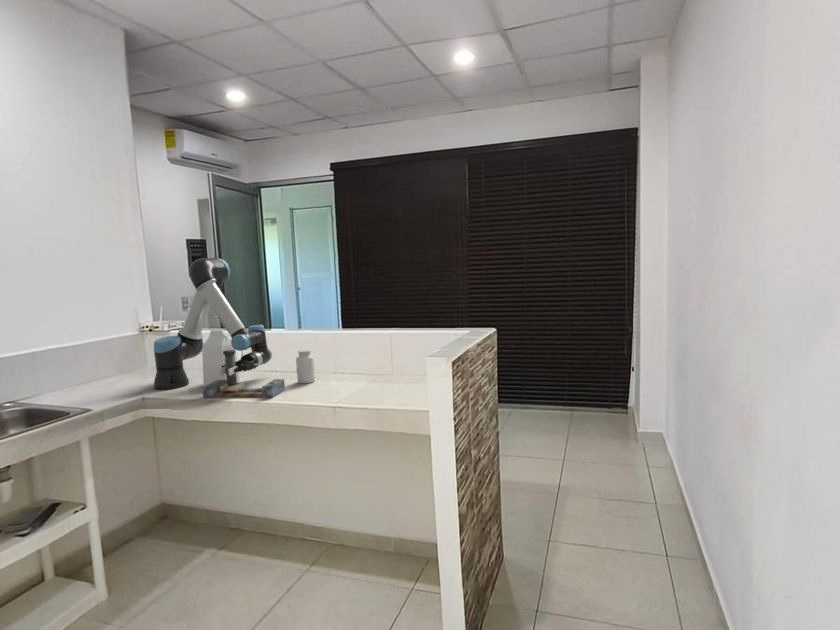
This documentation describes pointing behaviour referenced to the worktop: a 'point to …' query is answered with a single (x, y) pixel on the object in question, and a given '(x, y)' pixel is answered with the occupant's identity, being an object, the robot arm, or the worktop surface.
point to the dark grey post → (231, 380)
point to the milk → (215, 356)
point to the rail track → (244, 390)
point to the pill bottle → (305, 367)
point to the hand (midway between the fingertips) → (224, 372)
